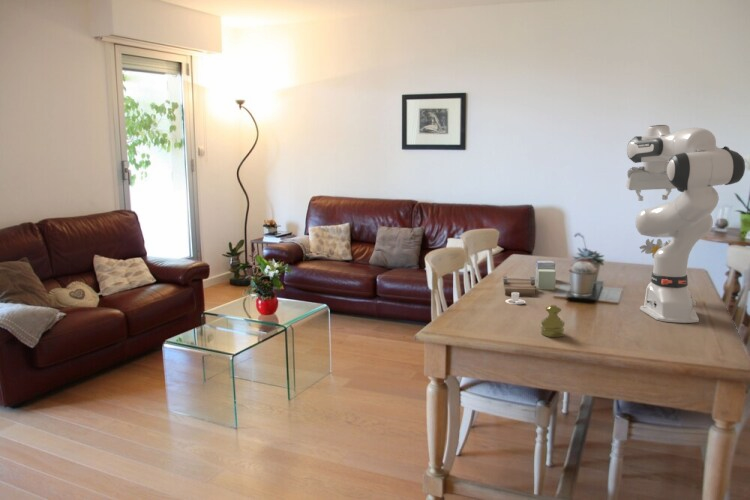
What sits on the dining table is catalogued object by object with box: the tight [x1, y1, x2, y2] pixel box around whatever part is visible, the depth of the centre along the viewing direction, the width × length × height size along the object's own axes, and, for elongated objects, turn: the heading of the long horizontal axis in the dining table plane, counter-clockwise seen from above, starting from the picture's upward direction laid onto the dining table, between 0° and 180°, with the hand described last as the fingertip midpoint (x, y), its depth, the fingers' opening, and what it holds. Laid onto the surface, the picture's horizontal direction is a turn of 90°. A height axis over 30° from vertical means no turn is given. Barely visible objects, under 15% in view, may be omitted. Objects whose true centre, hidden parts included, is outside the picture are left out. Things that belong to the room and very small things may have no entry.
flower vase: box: [639, 238, 671, 288], centre depth 234 cm, size 12×18×24 cm
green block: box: [537, 269, 556, 290], centre depth 253 cm, size 4×7×8 cm, turn 79°
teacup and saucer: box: [504, 292, 526, 305], centre depth 233 cm, size 9×8×4 cm
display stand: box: [502, 275, 536, 297], centre depth 250 cm, size 18×13×6 cm
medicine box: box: [535, 260, 556, 282], centre depth 267 cm, size 8×4×9 cm, turn 84°
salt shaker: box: [540, 304, 565, 338], centre depth 193 cm, size 7×7×10 cm
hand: (652, 200), depth 234 cm, fingers open, 8 cm apart
